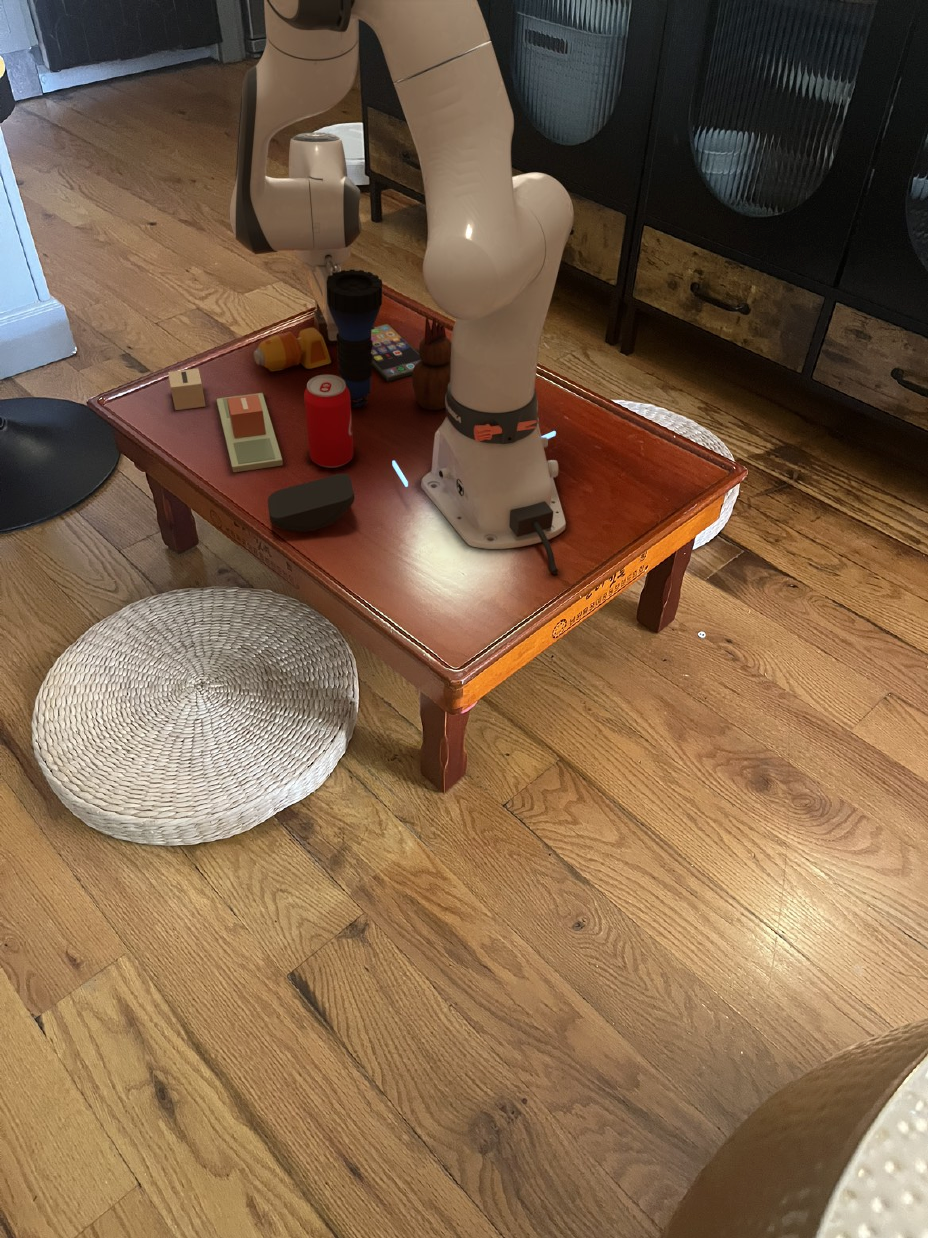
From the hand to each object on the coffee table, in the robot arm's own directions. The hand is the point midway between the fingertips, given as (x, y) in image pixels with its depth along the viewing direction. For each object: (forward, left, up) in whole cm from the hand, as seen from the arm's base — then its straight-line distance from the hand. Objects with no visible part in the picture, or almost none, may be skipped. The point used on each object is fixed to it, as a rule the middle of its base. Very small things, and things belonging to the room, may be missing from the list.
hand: (327, 324), depth 156 cm
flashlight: (-22, 0, -3) cm, 22 cm away
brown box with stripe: (0, 0, -2) cm, 2 cm away
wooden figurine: (-24, -12, -3) cm, 27 cm away
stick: (-11, -14, -3) cm, 18 cm away
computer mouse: (-47, +12, +2) cm, 49 cm away
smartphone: (-8, -8, -3) cm, 12 cm away
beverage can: (-34, +6, -3) cm, 35 cm away
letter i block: (-14, +24, -2) cm, 28 cm away
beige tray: (-25, +17, -2) cm, 30 cm away
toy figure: (-7, +7, -3) cm, 11 cm away
